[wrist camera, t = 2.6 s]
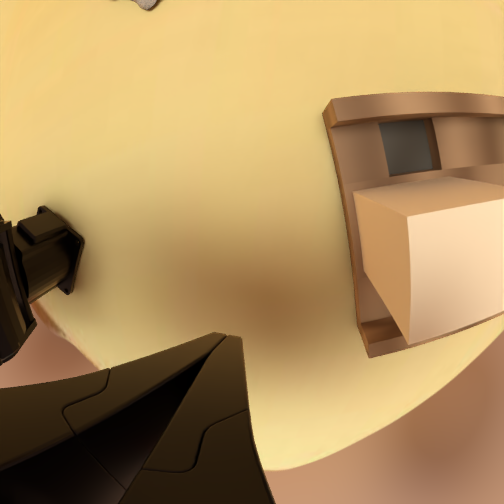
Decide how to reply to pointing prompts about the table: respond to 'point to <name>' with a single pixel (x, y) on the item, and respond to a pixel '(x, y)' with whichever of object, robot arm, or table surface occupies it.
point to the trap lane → (407, 170)
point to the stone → (145, 3)
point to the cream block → (434, 252)
